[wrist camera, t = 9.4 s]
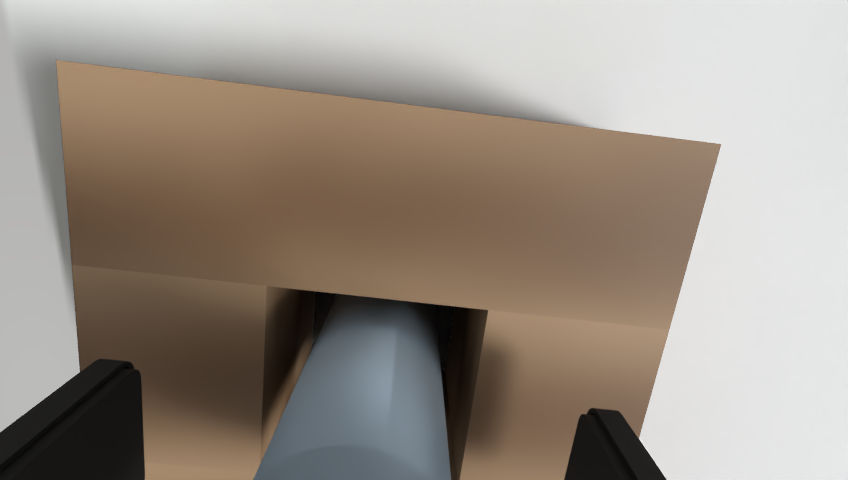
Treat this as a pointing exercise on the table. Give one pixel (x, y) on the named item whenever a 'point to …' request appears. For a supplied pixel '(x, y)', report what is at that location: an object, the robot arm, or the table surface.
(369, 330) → the peg
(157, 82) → the socket block
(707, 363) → the table surface
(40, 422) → the robot arm
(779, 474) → the table surface
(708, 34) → the table surface
